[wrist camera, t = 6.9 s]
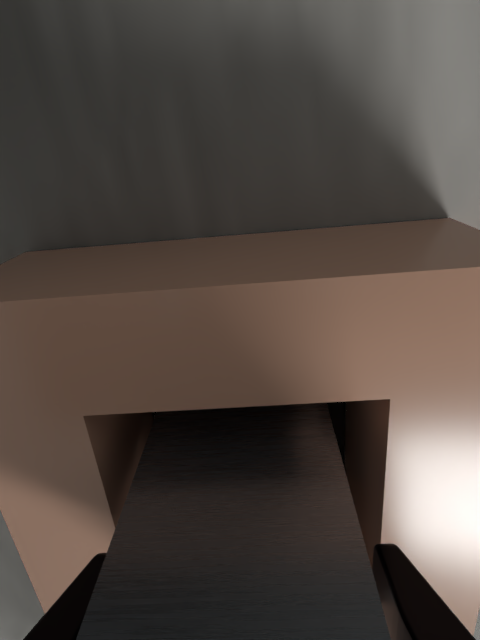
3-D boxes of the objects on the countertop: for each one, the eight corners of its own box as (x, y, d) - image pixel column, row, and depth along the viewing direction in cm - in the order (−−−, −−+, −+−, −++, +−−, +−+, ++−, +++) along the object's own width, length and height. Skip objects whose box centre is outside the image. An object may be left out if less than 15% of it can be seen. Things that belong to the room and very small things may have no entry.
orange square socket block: (414, 531, 15) (467, 661, 11) (111, 541, 15) (68, 667, 12) (449, 218, 10) (555, 261, 7) (26, 252, 11) (-87, 307, 7)
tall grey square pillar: (315, 457, 14) (438, 1104, 5) (194, 463, 14) (79, 1086, 5) (311, 348, 12) (491, 1007, 3) (176, 358, 12) (-49, 989, 3)
